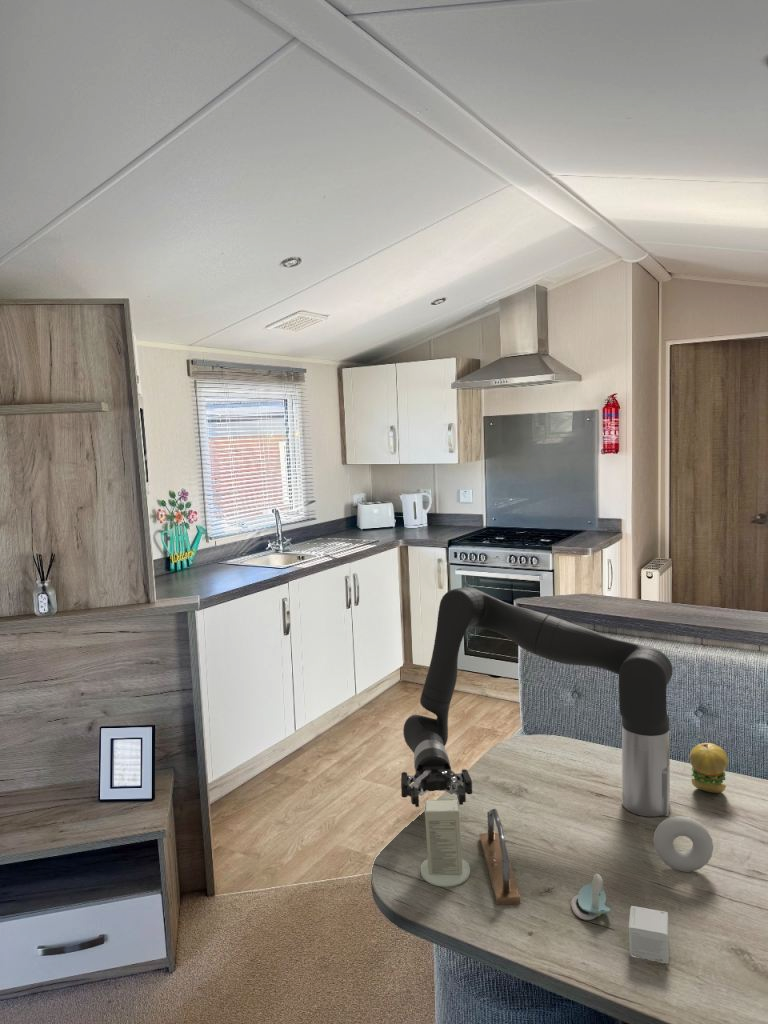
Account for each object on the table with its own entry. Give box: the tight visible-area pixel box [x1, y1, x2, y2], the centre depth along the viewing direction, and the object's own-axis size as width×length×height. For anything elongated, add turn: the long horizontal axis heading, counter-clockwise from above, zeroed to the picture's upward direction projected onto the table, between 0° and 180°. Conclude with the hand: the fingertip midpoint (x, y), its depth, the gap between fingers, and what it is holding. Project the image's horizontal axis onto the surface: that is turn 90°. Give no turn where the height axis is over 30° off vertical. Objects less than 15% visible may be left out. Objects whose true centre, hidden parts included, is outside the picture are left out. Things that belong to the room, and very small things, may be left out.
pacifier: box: [570, 873, 611, 921], centre depth 123 cm, size 7×6×6 cm
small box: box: [628, 905, 670, 965], centre depth 113 cm, size 6×6×5 cm
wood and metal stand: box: [478, 808, 522, 906], centre depth 135 cm, size 20×4×10 cm, turn 1°
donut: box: [652, 815, 714, 873], centre depth 132 cm, size 10×4×10 cm, turn 74°
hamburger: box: [689, 742, 729, 794], centre depth 158 cm, size 8×7×12 cm
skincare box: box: [424, 799, 463, 875], centre depth 134 cm, size 6×4×12 cm
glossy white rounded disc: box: [420, 858, 471, 888], centre depth 135 cm, size 9×9×1 cm
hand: (439, 801), depth 143 cm, fingers open, 8 cm apart
